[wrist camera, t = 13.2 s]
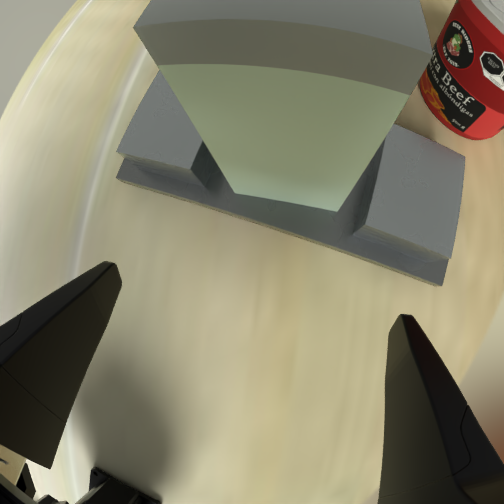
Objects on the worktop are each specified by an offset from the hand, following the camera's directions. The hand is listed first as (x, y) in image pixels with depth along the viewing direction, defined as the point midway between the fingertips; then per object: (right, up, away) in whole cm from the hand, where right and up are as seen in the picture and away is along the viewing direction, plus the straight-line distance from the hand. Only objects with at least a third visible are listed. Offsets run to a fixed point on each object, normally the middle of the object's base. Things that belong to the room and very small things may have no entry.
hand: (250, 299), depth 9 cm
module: (+2, +7, +8) cm, 11 cm away
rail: (+3, +7, +9) cm, 12 cm away
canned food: (+17, +13, +9) cm, 23 cm away
